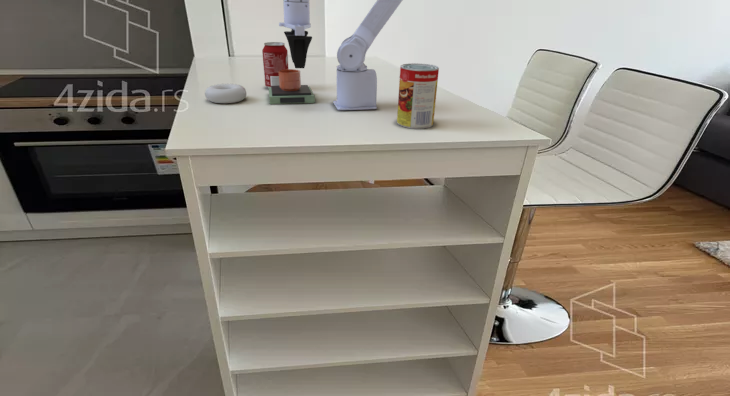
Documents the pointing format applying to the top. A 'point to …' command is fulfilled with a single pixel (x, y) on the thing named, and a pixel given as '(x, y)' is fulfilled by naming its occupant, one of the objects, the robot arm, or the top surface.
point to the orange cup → (289, 79)
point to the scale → (291, 95)
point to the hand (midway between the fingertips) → (298, 65)
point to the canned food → (417, 95)
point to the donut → (225, 93)
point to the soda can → (274, 62)
